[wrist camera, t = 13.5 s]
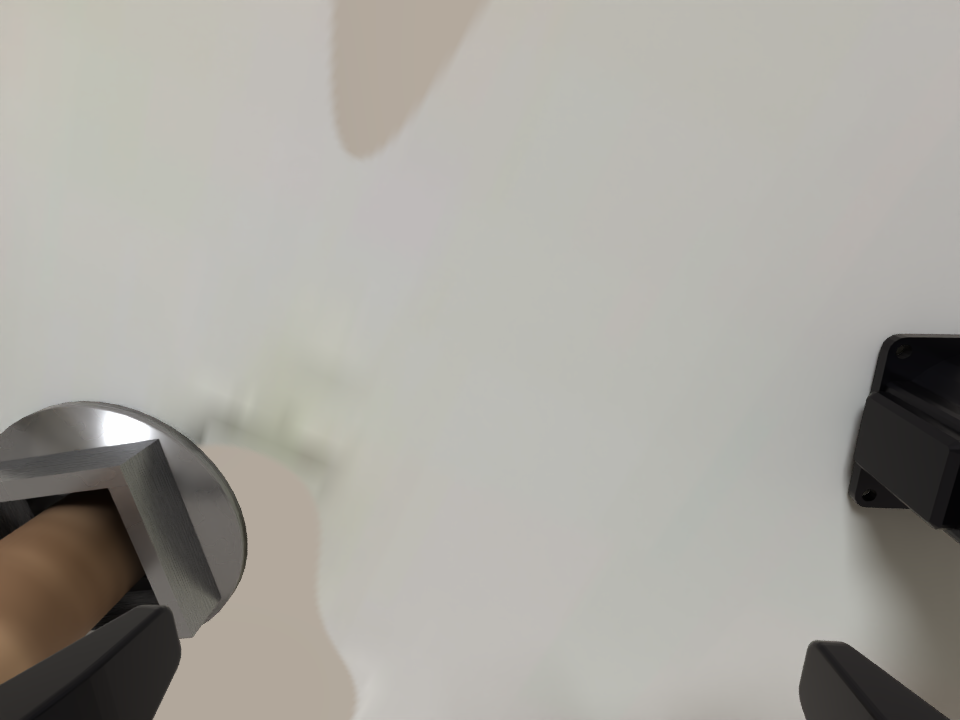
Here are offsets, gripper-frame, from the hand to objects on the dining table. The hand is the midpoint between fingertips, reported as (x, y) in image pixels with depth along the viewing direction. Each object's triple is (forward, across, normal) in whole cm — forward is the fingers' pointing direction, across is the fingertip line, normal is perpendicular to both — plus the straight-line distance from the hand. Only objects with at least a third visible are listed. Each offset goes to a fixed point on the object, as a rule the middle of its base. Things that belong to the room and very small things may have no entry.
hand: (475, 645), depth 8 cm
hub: (+13, +17, +8) cm, 23 cm away
